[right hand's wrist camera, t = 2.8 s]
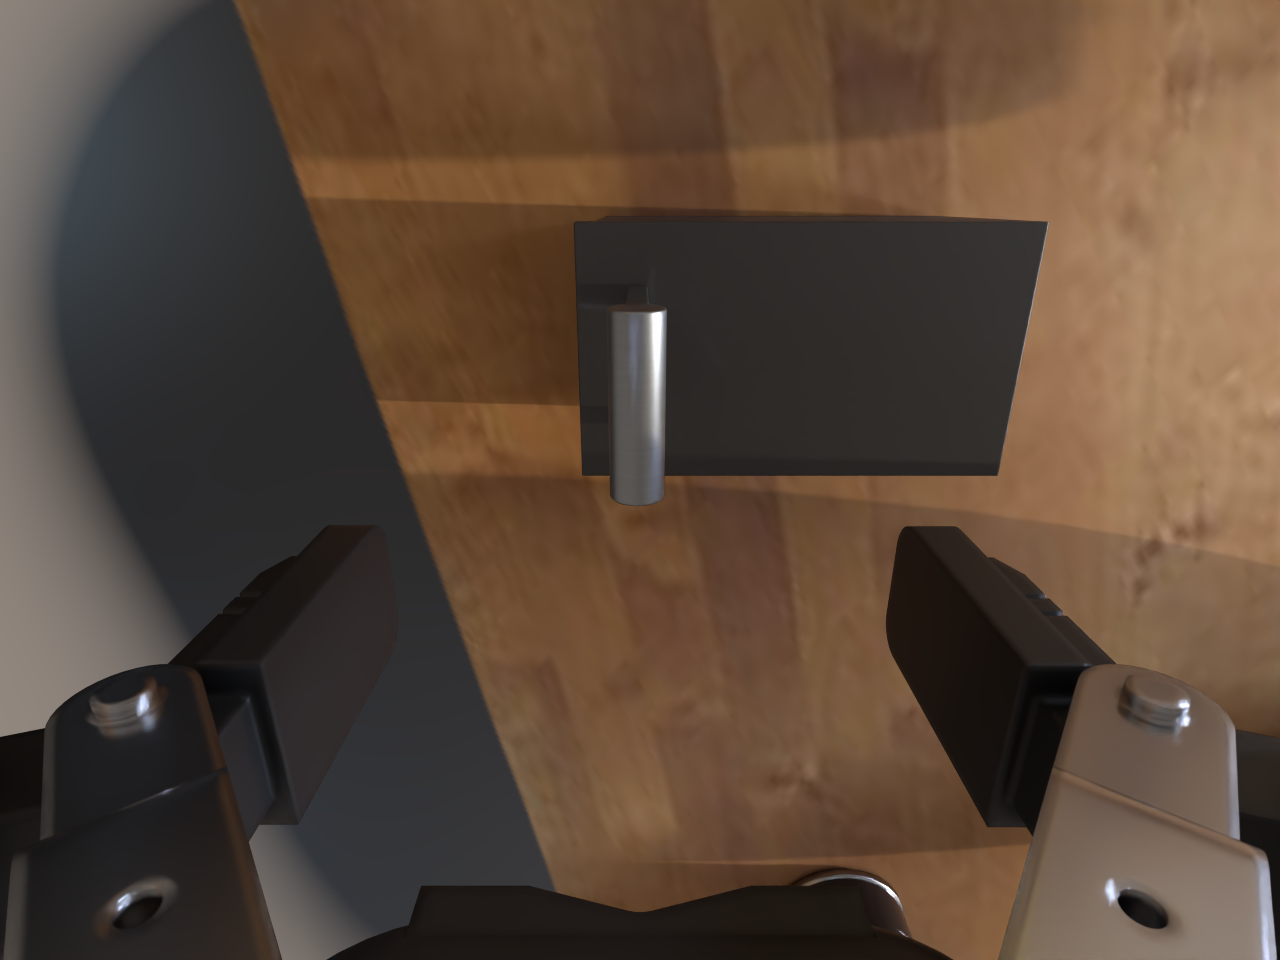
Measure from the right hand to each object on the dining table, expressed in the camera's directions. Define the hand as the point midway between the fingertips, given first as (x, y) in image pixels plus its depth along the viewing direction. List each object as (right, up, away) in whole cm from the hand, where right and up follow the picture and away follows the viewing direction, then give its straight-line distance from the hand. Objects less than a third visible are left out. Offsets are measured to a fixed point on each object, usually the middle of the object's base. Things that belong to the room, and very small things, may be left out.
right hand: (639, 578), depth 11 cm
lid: (+6, +7, +16) cm, 19 cm away
